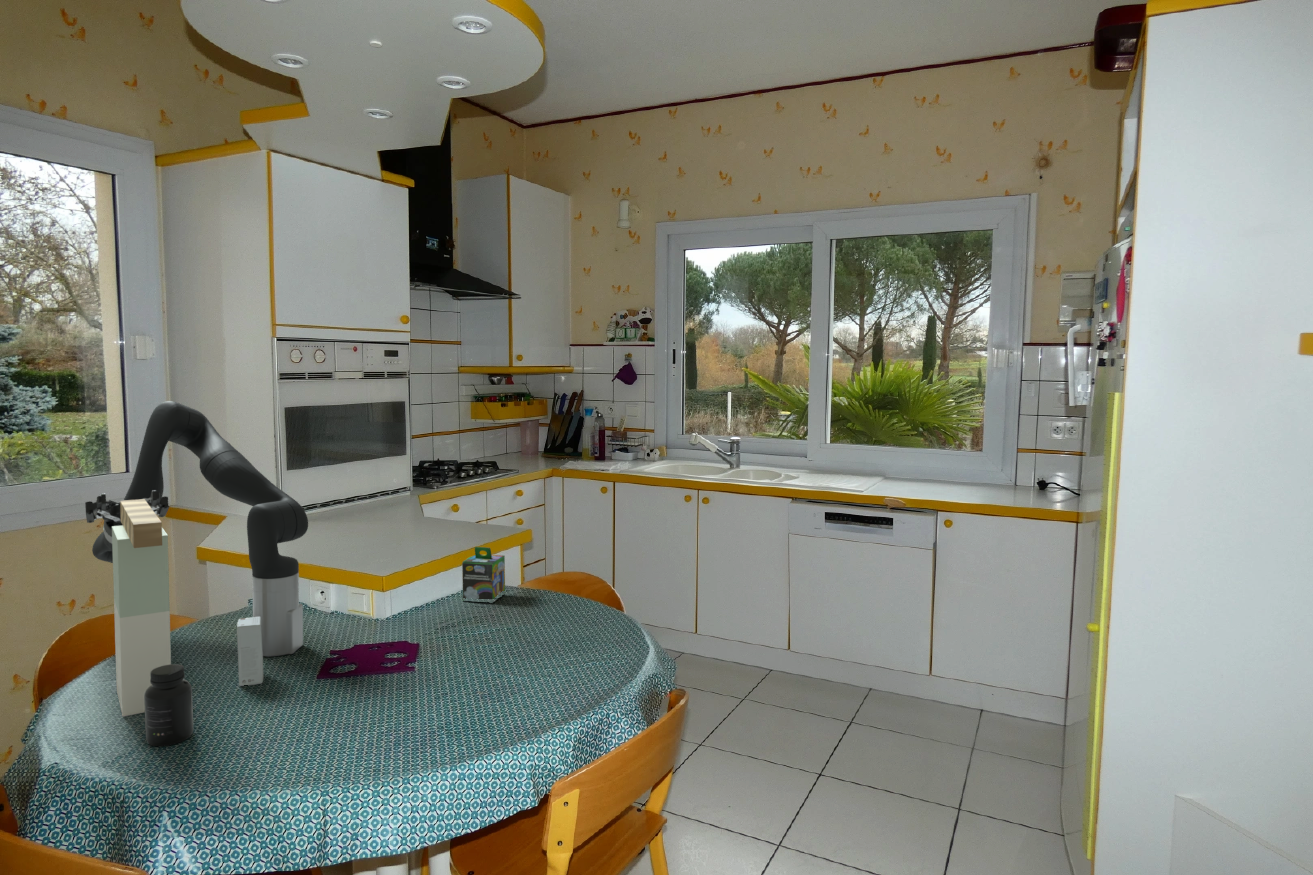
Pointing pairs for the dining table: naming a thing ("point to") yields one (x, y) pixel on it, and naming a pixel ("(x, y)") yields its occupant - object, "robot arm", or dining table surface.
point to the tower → (139, 616)
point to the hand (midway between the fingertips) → (129, 496)
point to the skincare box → (250, 651)
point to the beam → (141, 523)
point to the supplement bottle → (168, 706)
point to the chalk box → (483, 575)
